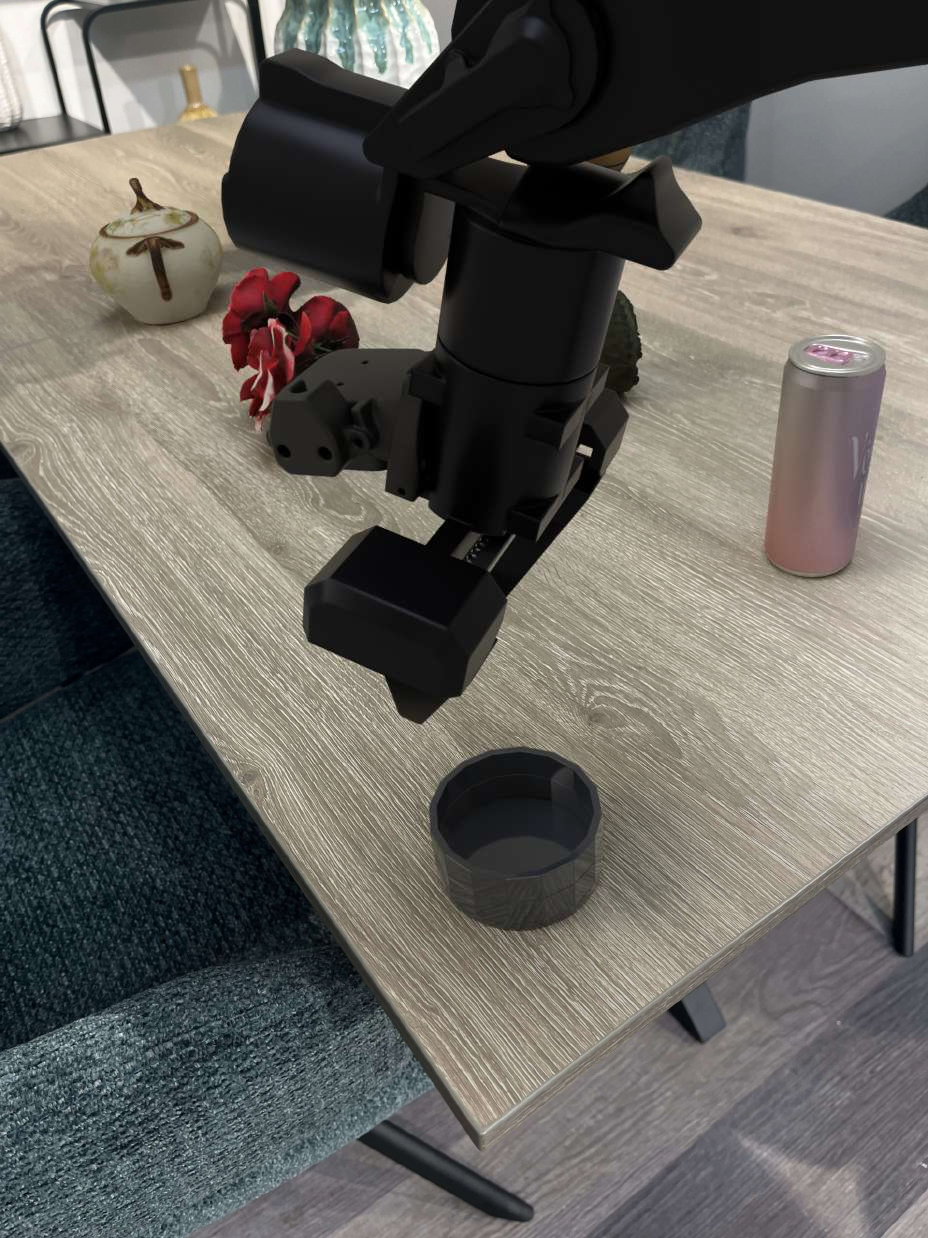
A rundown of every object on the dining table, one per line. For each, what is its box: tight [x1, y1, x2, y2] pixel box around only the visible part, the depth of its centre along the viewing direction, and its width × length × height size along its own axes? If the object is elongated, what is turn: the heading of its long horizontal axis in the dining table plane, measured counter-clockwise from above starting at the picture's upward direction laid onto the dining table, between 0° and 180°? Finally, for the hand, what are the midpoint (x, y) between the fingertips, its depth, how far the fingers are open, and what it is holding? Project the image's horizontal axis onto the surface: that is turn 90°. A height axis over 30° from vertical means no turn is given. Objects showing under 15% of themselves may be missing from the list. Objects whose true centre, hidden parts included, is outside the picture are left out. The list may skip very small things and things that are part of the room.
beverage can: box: [763, 333, 887, 578], centre depth 66 cm, size 6×6×15 cm
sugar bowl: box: [88, 177, 224, 325], centre depth 115 cm, size 20×15×15 cm
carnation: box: [221, 267, 644, 433], centre depth 90 cm, size 16×18×35 cm
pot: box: [428, 745, 604, 931], centre depth 51 cm, size 8×8×4 cm
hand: (456, 651), depth 46 cm, fingers open, 9 cm apart
